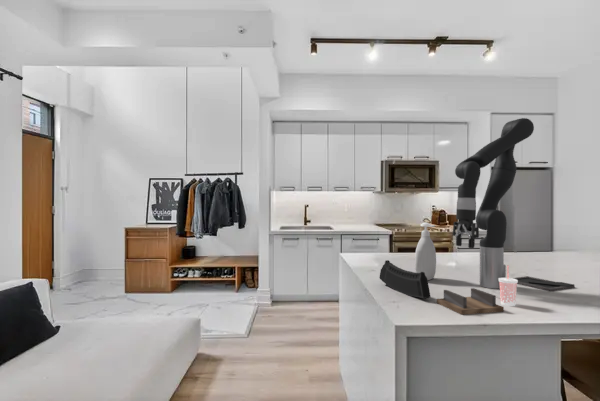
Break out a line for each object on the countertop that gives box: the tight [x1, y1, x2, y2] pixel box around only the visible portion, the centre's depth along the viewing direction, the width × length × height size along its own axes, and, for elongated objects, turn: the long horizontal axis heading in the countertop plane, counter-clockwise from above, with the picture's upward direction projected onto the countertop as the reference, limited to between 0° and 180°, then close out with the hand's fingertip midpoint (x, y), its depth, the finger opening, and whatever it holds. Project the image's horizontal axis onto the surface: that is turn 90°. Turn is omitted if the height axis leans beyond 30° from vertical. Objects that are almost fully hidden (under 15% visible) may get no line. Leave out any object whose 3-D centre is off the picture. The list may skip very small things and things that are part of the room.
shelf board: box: [436, 287, 504, 316], centre depth 129 cm, size 16×14×5 cm
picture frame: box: [512, 275, 576, 292], centre depth 163 cm, size 16×2×21 cm
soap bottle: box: [414, 221, 437, 281], centre depth 173 cm, size 14×8×27 cm, turn 127°
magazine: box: [379, 260, 431, 300], centre depth 149 cm, size 17×3×30 cm
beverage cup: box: [498, 265, 518, 307], centre depth 132 cm, size 6×6×14 cm
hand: (464, 246), depth 156 cm, fingers open, 8 cm apart
